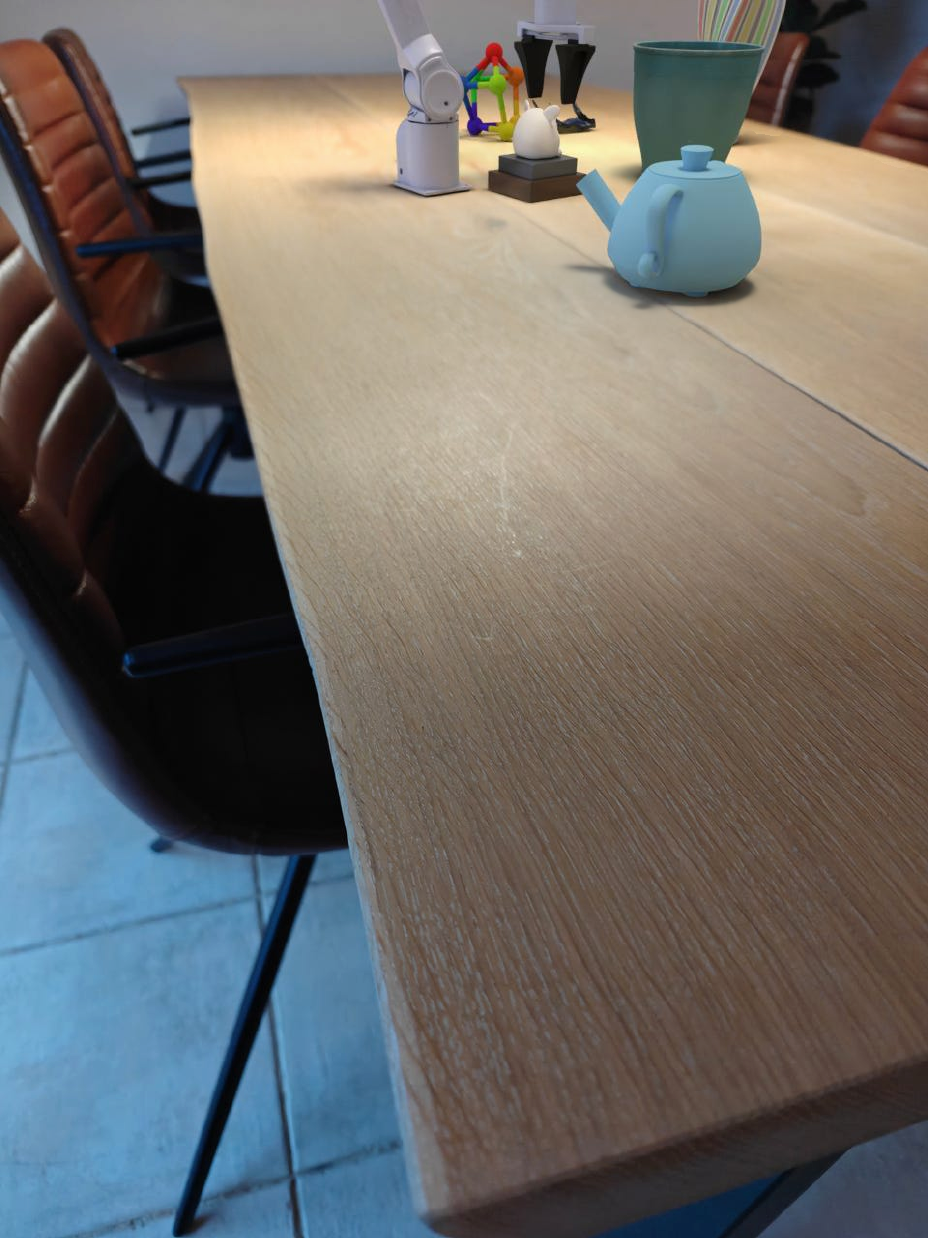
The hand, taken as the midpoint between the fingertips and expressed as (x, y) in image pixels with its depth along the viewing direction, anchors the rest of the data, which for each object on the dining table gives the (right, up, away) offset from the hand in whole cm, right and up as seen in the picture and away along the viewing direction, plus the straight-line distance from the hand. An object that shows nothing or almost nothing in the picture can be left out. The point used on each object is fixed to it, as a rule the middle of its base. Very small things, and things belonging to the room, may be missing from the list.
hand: (551, 100), depth 126 cm
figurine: (-2, -9, -2) cm, 10 cm away
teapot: (+8, -38, -32) cm, 51 cm away
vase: (+33, +11, +31) cm, 47 cm away
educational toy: (-8, +15, +37) cm, 40 cm away
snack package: (+7, +20, +44) cm, 49 cm away
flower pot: (+20, -7, +8) cm, 23 cm away
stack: (-2, -13, 0) cm, 13 cm away
